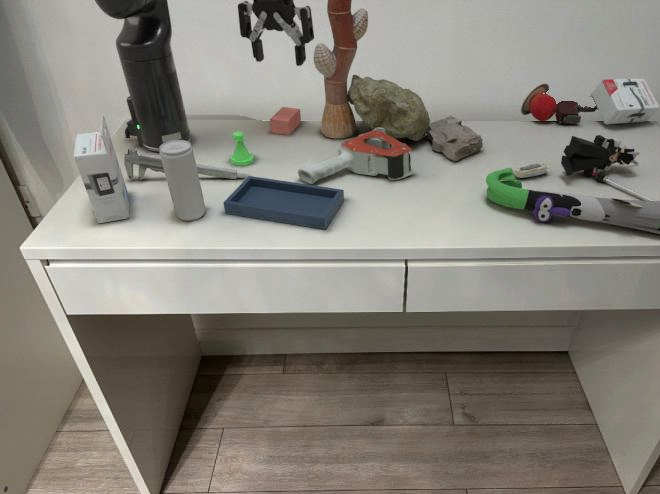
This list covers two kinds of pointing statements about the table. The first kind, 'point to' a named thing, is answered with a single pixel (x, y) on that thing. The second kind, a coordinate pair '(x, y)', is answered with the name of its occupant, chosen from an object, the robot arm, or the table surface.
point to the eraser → (285, 120)
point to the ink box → (624, 100)
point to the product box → (102, 175)
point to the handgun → (570, 112)
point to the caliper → (156, 165)
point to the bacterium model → (530, 170)
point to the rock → (389, 107)
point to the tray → (285, 202)
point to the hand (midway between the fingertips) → (280, 62)
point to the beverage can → (182, 179)
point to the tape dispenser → (365, 158)
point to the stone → (453, 138)
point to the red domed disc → (539, 103)
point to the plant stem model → (339, 66)
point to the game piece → (241, 151)
